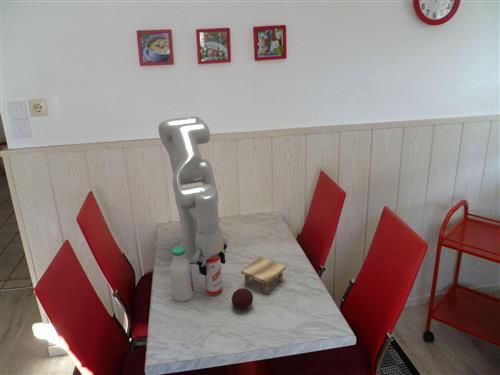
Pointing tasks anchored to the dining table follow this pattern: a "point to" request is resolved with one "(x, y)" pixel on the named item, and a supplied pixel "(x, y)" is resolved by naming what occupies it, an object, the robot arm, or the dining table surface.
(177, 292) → the milk bottle
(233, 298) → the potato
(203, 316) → the dining table surface
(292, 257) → the dining table surface
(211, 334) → the dining table surface
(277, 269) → the stool
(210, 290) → the beer can
